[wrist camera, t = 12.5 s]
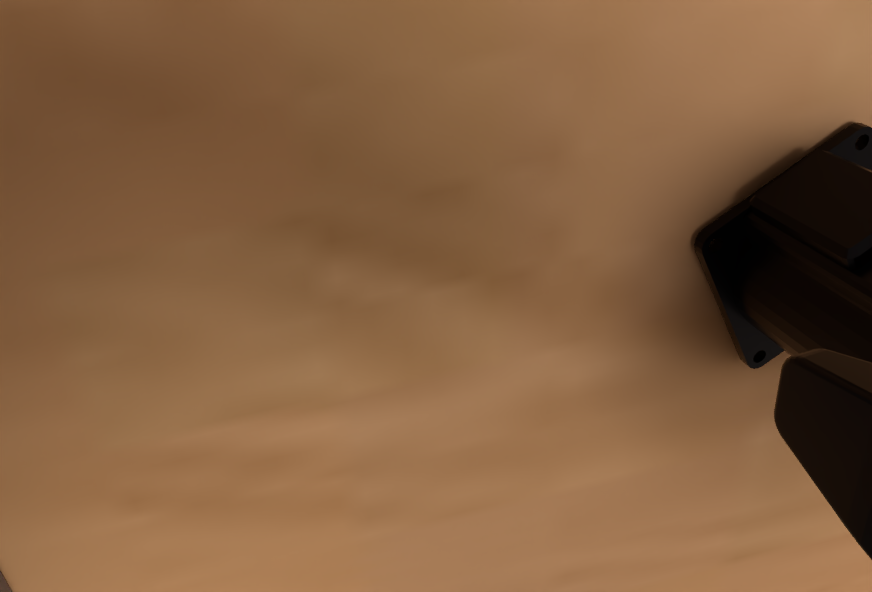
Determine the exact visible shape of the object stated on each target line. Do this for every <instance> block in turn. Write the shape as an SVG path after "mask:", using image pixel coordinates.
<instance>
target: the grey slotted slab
mask: <svg viewBox="0 0 872 592" xmlns="http://www.w3.org/2000/svg"><path fill="white" fill-rule="evenodd" d="M0 592H12V591H11V589H10V587H9V586H8V584H7V582H6V580H5V578H4V577H3V575H2V573H1V571H0Z"/></svg>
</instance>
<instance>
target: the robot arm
mask: <svg viewBox="0 0 872 592" xmlns="http://www.w3.org/2000/svg"><path fill="white" fill-rule="evenodd" d="M857 139H858V141H857ZM856 141H857V142H856ZM714 239H715V240H714ZM713 240H714V243H713V244H712V245H711V246H709V245H710V243H711V242H712V241H713ZM694 246H695V251H696V253H697V256H698V258H699V260H700V263H701V265H702V268H703V270H704V272H705V275H706V277H707V280H708V282H709V284H710V287H711V289H712V291H713V294H714V296H715V299H716V301H717V303H718V306H719V308H720V311H721V313H722V315H723V318H724V320H725V323H726V325H727V327H728V330H729V332H730V335H731V337H732V339H733V342H734V344H735V347H736V349H737V351H738V354H739V356H740V359H741V360H742V361H743V362H744V363H745V364H746V365H748V366H749V367H750V368H753V369H755V368H759V367H761V366H763V365H764V364H766V363H767V362H769V361H770V360H771V359H773V358H774V357H776V356H777V355H779V354H780V353H781V352H783V351H784V350H785V351H786V352H788V353H789V354H790V355H791V357H789V358H787V359H786V361H785V362H784V364H783V366H782V369H781V374H780V380H779V386H778V392H777V398H776V404H775V409H774V419H775V423H776V427H777V429H778V431H779V433H780V435H781V436H782V438H783V439H784V441H785V442H786V444H787V445H788V446H789V448H790V449H791V451H792V452H793V453H794V455H795V456H796V458H797V459H798V460H799V462H800V463H801V465H802V466H803V467H804V469H805V470H806V472H807V473H808V474H809V476H810V477H811V479H812V480H813V482H814V483H815V484H816V486H817V487H818V489H819V490H820V491H821V493H822V494H823V496H824V497H825V498H826V500H827V501H828V503H829V504H830V505H831V507H832V508H833V510H834V511H835V512H836V514H837V515H838V517H839V518H840V520H841V521H842V522H843V524H844V525H845V527H846V528H847V529H848V531H849V532H850V533H851V535H852V536H853V537H854V538H855V540H856V541H857V542H858V544H859V545H860V546H861V548H862V549H863V550H864V551H865V552H866V554H867V555H868V556H869V557H870V558H871V560H872V128H871V127H869V126H867V125H864V124H861V123H854V124H852V125H850V126H848V127H847V128H846V129H844V130H843V131H841V132H840V133H838V134H837V135H836V136H834V137H833V138H831V139H830V140H829V141H827V142H826V143H824V144H823V145H821V146H820V147H819V148H817V149H816V150H814V151H813V152H812V153H810V154H809V155H807V156H806V157H804V158H803V159H802V160H800V161H799V162H797V163H796V164H795V165H793V166H792V167H790V168H789V169H787V170H786V171H785V172H783V173H782V174H780V175H779V176H778V177H776V178H775V179H773V180H772V181H770V182H769V183H768V184H766V185H765V186H763V187H762V188H761V189H759V190H758V191H756V192H755V193H753V194H752V195H751V196H749V197H748V198H746V199H745V200H744V201H742V202H741V203H739V204H738V205H737V206H735V207H734V208H732V209H731V210H729V211H728V212H727V213H725V214H724V215H722V216H721V217H720V218H718V219H717V220H715V221H714V222H712V223H711V224H710V225H708V226H707V227H705V228H704V229H703V230H702V231H701V232H700V233H699V234H698V235H697V237H696V239H695V243H694Z"/></svg>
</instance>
